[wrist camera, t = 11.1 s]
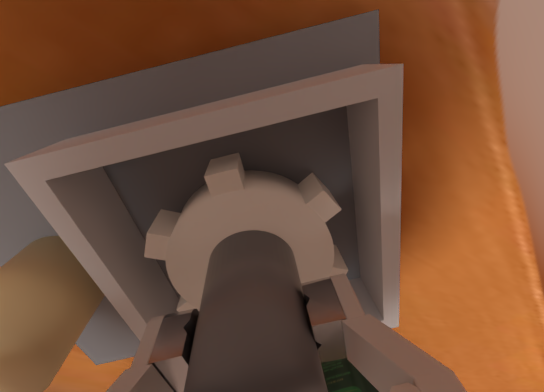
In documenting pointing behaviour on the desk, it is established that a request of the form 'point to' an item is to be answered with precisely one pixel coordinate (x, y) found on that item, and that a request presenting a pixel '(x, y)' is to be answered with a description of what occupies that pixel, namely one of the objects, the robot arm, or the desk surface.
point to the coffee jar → (345, 377)
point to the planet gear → (249, 276)
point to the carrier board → (186, 182)
